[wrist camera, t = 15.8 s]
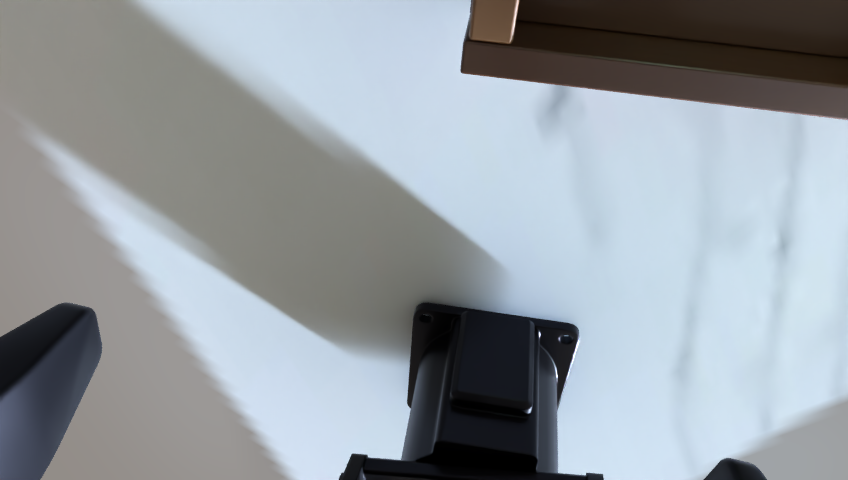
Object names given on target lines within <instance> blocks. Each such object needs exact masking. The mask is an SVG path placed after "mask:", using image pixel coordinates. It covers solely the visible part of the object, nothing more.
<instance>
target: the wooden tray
mask: <svg viewBox="0 0 848 480" xmlns="http://www.w3.org/2000/svg"><path fill="white" fill-rule="evenodd" d="M461 73H464V74H472V75H480V76H489V77H497V78H505V79H513V80H522V81H530V82H538V83H547V84H555V85H563V86H571V87H580V88H588V89H596V90H604V91H613V92H621V93H629V94H637V95H646V96H654V97H662V98H671V99H679V100H687V101H695V102H704V103H712V104H720V105H728V106H737V107H745V108H753V109H762V110H770V111H778V112H786V113H795V114H803V115H811V116H819V117H828V118H836V119H844V120H848V0H471V7H470V17H469V21H468V25H467V30H466V34H465V38H464V42H463V51H462V60H461Z"/></svg>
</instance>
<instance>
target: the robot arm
mask: <svg viewBox="0 0 848 480" xmlns="http://www.w3.org/2000/svg"><path fill="white" fill-rule="evenodd" d="M423 314H428V315H430V316H425V315H423ZM563 335H569V336H563ZM578 343H579V330H578V328H577V327H576V326H575V325H573V324H570V323H564V322H557V321H550V320H544V319H537V318H530V317H523V316H516V315H509V314H503V313H496V312H489V311H482V310H475V309H468V308H462V307H455V306H448V305H441V304H434V303H421V304H419V305H417V306H416V309H415V313H414V318H413V331H412V345H411V358H410V372H409V385H408V399H407V404H408V406H409V407H410V408H411V411H410V416H409V421H408V427H407V432H406V437H405V442H404V447H403V453H402V458H401V460H392V459H380V458H368V455H363V454H352V455H351V457H350V460H349V462H348V464H347V467H346V469H345V471H344V473H341V475H340V478H339V480H604V479H603V474H595V473H586V475H574V474H561V473H558V436H557V410H558V407H559V404H560V401H561V397H562V394H563V391H564V388H565V385H566V381H567V378H568V375H569V372H570V369H571V366H572V362H573V359H574V356H575V353H576V350H577V346H578ZM101 353H102V342H101V337H100V332H99V327H98V322H97V317H96V314H95V312H94V311H93V309H92V308H89V307H85V306H81V305H77V304H73V303H61V304H58V305H56V306H54V307H52V308H51V309H49V310H47V311H45V312H44V313H42V314H40V315H38V316H37V317H35V318H33V319H31V320H30V321H28V322H26V323H24V324H22V325H21V326H19V327H17V328H16V329H14V330H12V331H10V332H8V333H7V334H5V335H3V336H1V337H0V480H40V479H41V478H42V476H43V474H44V472H45V471H46V469H47V467H48V466H49V464H50V462H51V460H52V459H53V457H54V455H55V453H56V451H57V449H58V447H59V445H60V443H61V441H62V439H63V437H64V434H65V432H66V430H67V428H68V426H69V424H70V422H71V420H72V417H73V416H74V413H75V411H76V409H77V407H78V405H79V403H80V401H81V399H82V397H83V394H84V392H85V390H86V388H87V386H88V384H89V382H90V380H91V378H92V376H93V373H94V371H95V369H96V367H97V365H98V363H99V360H100V357H101ZM704 480H767V479H766V478H765V476H764V475H763V473H762V472H761V471H760V470H759V469H758V468H757V467H756V466H755V465H753V464H751V463H748V462H744V461H740V460H736V459H731V458H725V459H723V460H721V461H720V462H719V463H718V464H717V465H716V466H715V468H714V469H713V470H712V471H711V472H710V473H709V474H708V476H707V477H706V478H705V479H704Z"/></svg>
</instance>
